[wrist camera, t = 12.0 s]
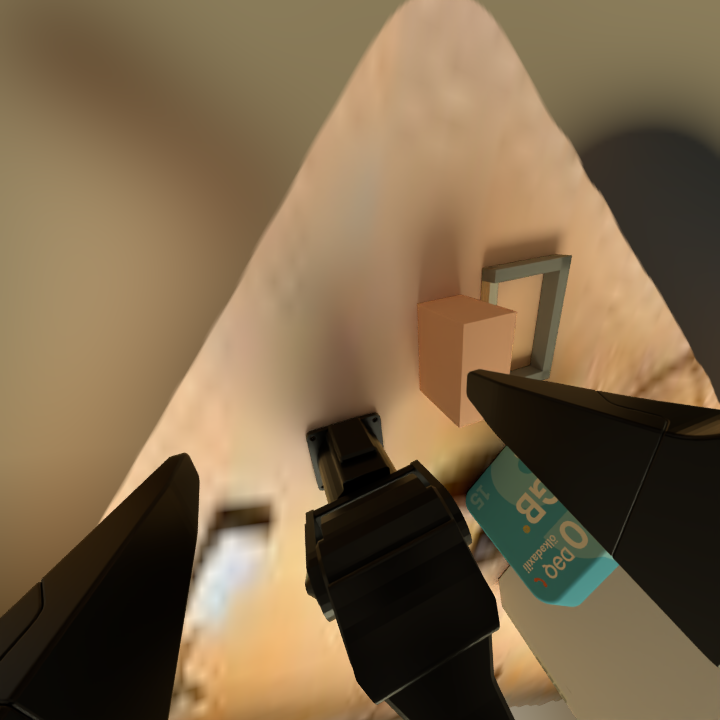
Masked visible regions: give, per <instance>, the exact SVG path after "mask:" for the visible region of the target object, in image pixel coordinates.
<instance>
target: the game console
mask: <svg viewBox="0 0 720 720" xmlns="http://www.w3.org/2000/svg"><path fill="white" fill-rule="evenodd" d="M499 587H500V595H501V603H502V607H503V609H504V610H505V612H506V613H507V615H508V616H509V618H510V619H511V621H512V622H513V624H514V625H515V627H516V628H517V630H518V631H519V633H520V634H521V636H522V637H523V639H524V640H525V642H526V643H527V645H528V647H529V648H530V650H531V651H532V653H533V654H534V656H535V657H536V659H537V660H538V662H539V663H540V665H541V666H542V668H543V669H544V671H545V672H546V674H547V675H548V677H549V678H550V680H551V681H552V683H553V684H554V686H555V687H556V689H557V690H558V692H559V693H560V695H561V697H562V698H563V700H564V701H565V703H566V704H567V706H568V707H569V709H570V710H571V712H572V713H573V715H574V716H575V718H576V719H577V720H720V667H719V668H718V667H716V666H715V665H714V664H713V663H712V662H711V661H710V660H709V659H708V658H707V657H706V656H705V655H704V654H703V653H702V652H701V651H700V650H699V649H698V648H697V647H696V646H695V645H694V644H693V643H692V642H691V641H690V640H689V638H688V637H687V636H686V635H685V634H684V633H683V632H682V631H681V630H680V629H679V628H678V627H677V626H676V625H675V624H674V623H673V622H672V620H671V619H670V618H669V617H668V616H667V615H666V614H665V613H664V612H663V611H662V610H661V609H660V608H659V607H658V606H657V605H656V603H655V602H654V601H653V600H652V599H651V598H650V597H649V596H648V595H647V594H646V593H645V592H644V591H643V590H642V589H641V588H640V587H639V585H638V584H637V583H636V582H635V581H634V580H633V579H632V578H631V577H630V576H629V575H628V574H627V573H626V572H625V571H624V570H623V568H622V567H621V566H620V565H619V566H618V567H617V568H616V569H615V570H614V571H613V572H612V573H611V574H610V575H609V576H608V577H607V578H606V579H605V580H604V581H603V582H602V583H601V584H600V585H599V586H598V587H597V588H596V589H595V590H594V591H593V592H592V593H591V594H590V595H589V596H588V597H587V598H586V599H585V600H584V601H583V602H582V603H581V604H580V605H578V606H575V607H568V606H560V605H552V604H546V603H544V602H542V601H540V600H538V599H537V598H536V597H535V596H534V595H533V594H532V593H531V592H530V590H529V589H528V588H527V586H526V585H525V584H524V582H523V581H522V580H521V579H520V577H519V576H518V575H517V573H516V572H515V571H514V569H513V568H512V567H511V565H510V566H509V568H508V569H507V570H506V571H505V573H504V574H503V575H502V576H501V578H500V579H499Z"/></svg>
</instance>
